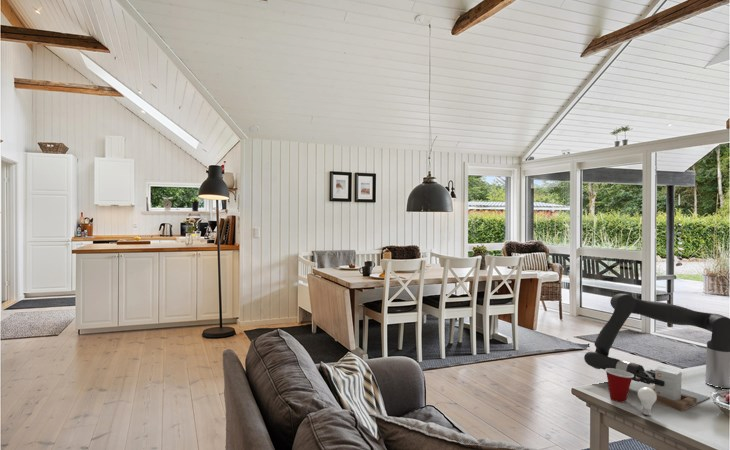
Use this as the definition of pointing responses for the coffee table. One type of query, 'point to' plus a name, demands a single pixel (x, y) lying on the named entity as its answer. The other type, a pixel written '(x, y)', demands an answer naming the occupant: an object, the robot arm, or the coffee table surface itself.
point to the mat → (695, 395)
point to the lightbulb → (647, 399)
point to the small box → (668, 383)
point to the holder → (678, 405)
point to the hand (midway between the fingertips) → (669, 382)
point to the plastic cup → (618, 383)
